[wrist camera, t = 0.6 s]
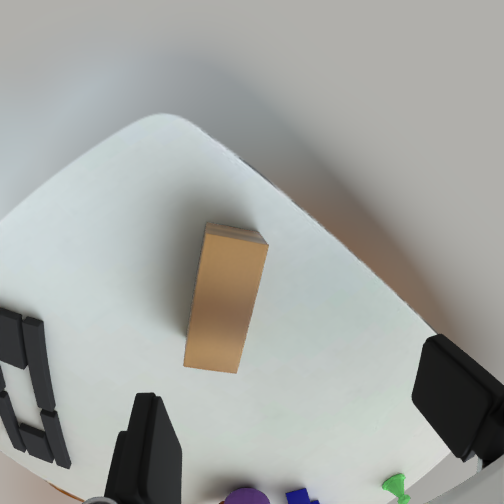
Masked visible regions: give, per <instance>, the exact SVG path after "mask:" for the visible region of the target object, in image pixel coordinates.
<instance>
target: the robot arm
mask: <svg viewBox="0 0 504 504" xmlns="http://www.w3.org/2000/svg"><path fill="white" fill-rule="evenodd" d="M412 401H413V403H414V405H415V406H416V407H417V408H418V410H419V411H420V412H421V413H422V415H423V416H424V417H425V418H426V420H427V421H428V422H429V423H430V425H431V426H432V427H433V429H434V430H435V431H436V432H437V434H438V435H439V436H440V437H441V439H442V440H443V441H444V443H445V444H446V445H447V446H448V448H449V449H450V450H451V451H452V453H453V454H454V455H455V456H456V457H457V458H461V460H462V461H463V462H466V461H467V460H469V459H470V458H472V457H474V455H475V454H476V455H477V456H478V465H477V474H475V475H474V476H472V477H471V478H469V479H467V480H466V481H464V482H463V483H461V484H460V485H458V486H456V487H454V488H453V489H451V490H450V491H448V492H446V493H444V494H442V495H440V496H438V497H437V498H435V499H433V500H431V501H429V502H427V503H425V504H504V385H503V384H502V383H500V382H499V381H498V380H497V379H496V378H495V377H494V376H492V375H491V374H490V373H489V372H488V371H487V370H485V369H484V368H483V367H482V366H481V365H479V364H478V363H477V362H476V361H475V360H474V359H472V358H471V357H470V356H469V355H468V354H466V353H465V352H464V351H463V350H461V349H460V348H459V347H458V346H456V345H455V344H454V343H453V342H452V341H450V340H449V339H448V338H447V337H445V336H444V335H443V334H437V335H434V336H432V337H429V338H427V340H426V342H425V343H424V344H423V348H422V353H421V358H420V362H419V367H418V371H417V376H416V380H415V384H414V388H413V392H412ZM181 478H182V449H181V446H180V443H179V441H178V438H177V436H176V434H175V431H174V429H173V426H172V424H171V421H170V419H169V416H168V414H167V411H166V409H165V406H164V403H163V401H162V398H161V397H160V396H156V395H155V394H154V393H153V392H152V393H137V394H136V396H135V400H134V404H133V408H132V412H131V416H130V421H129V425H128V429H127V431H120V432H119V434H118V437H117V441H116V445H115V449H114V453H113V457H112V462H111V466H110V470H109V475H108V479H107V484H106V489H105V494H104V497H93V498H90V499H88V500H86V501H85V502H83V503H82V504H181Z"/></svg>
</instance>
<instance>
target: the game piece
mask: <svg viewBox="0 0 504 504" xmlns="http://www.w3.org/2000/svg"><path fill="white" fill-rule="evenodd" d="M404 479H405V476H404V475H403V474H398V475H396V476H393V477H391V478H390V479H388V480H387V481H386V482H384V484H383V486H382V488H383V490H388V491H390V492H391V493H393V494H394V495H396V496H397V497H399V500H398V503H399V504H407V503H408V502H409V500H410V497H409V495H404Z"/></svg>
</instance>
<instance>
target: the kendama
mask: <svg viewBox="0 0 504 504" xmlns="http://www.w3.org/2000/svg"><path fill="white" fill-rule="evenodd" d="M219 504H270V502H269V499H268V498H267V496H266V495H265V494H264V493H262V492H260V491H259V490H256V489H254V488H240V489H237V490H235V491H233V492H232V493H230V494H229V495H228V497H227V498H226V499H225V501H222V502H220V503H219Z"/></svg>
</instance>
